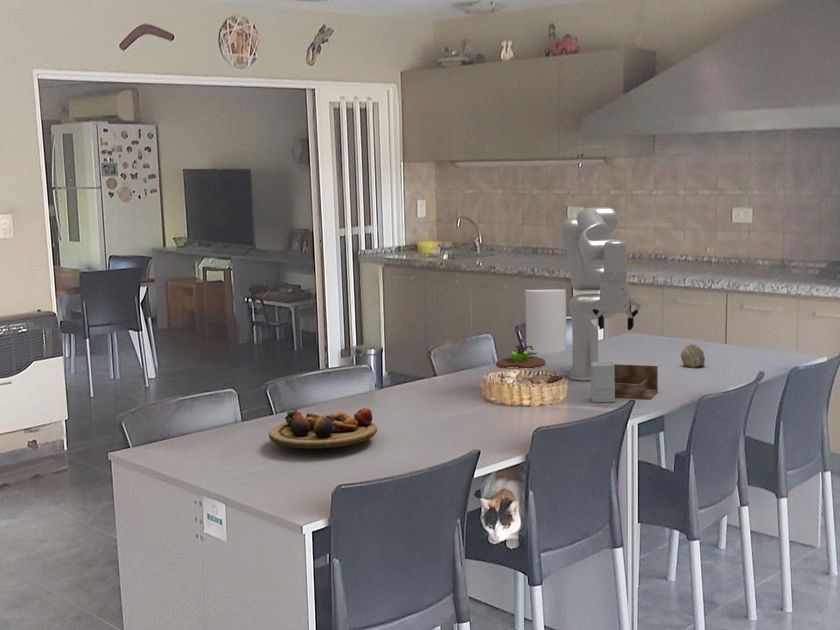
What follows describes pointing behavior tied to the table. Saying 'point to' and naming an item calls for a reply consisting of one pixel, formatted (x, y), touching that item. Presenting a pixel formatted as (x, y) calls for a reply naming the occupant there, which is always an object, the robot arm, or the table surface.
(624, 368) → the walnut caddy
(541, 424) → the table surface
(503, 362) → the plant
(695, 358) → the round rough stone
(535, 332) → the cylinder
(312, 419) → the wooden plate with food
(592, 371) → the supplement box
